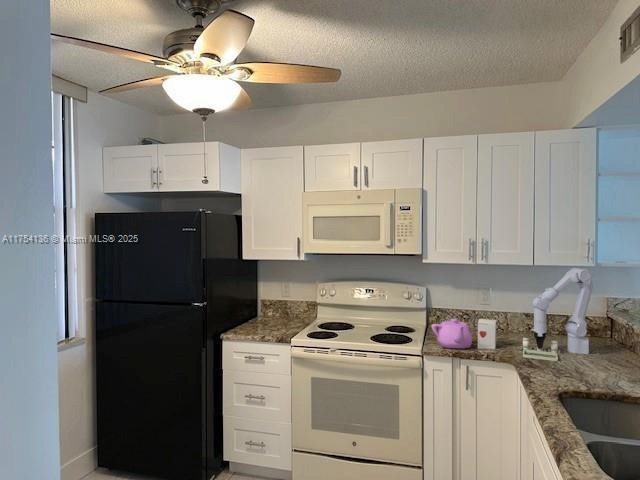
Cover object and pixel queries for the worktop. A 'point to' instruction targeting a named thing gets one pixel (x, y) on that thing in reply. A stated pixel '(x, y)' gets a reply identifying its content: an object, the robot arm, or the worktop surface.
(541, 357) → the tray
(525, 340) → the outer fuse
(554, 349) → the cylinder
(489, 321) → the supplement box
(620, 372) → the worktop surface
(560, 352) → the fuse holder
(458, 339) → the teapot
